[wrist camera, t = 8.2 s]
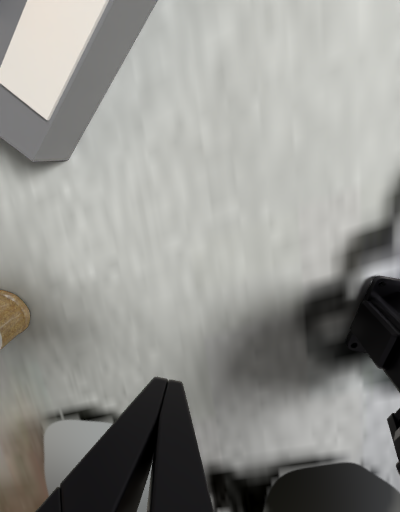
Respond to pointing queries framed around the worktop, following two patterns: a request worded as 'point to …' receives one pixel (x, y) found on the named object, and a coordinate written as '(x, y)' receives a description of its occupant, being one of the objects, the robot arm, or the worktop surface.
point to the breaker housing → (60, 67)
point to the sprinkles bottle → (12, 317)
